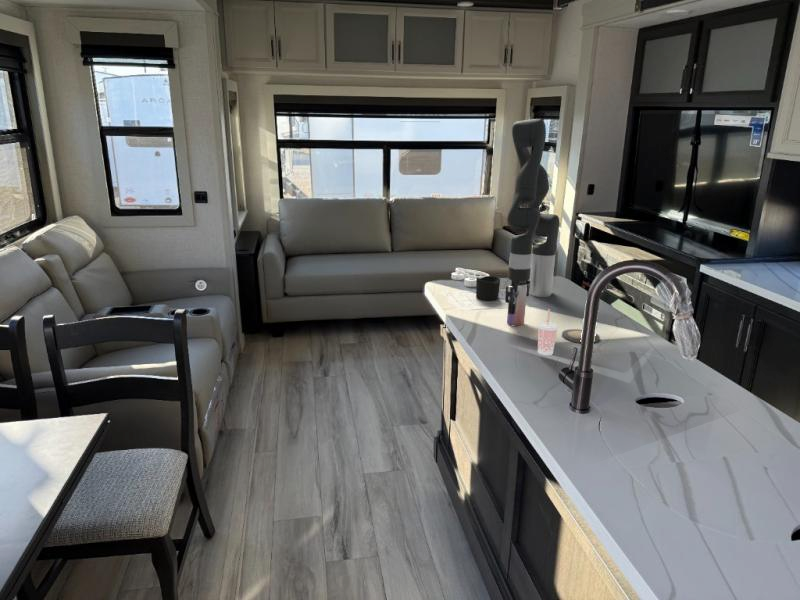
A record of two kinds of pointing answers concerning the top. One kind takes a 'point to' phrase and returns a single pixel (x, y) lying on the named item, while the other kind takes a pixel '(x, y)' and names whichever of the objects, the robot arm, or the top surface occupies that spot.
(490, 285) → the pen holder
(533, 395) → the top surface
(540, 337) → the beverage cup
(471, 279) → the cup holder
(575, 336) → the coaster
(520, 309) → the beverage can
